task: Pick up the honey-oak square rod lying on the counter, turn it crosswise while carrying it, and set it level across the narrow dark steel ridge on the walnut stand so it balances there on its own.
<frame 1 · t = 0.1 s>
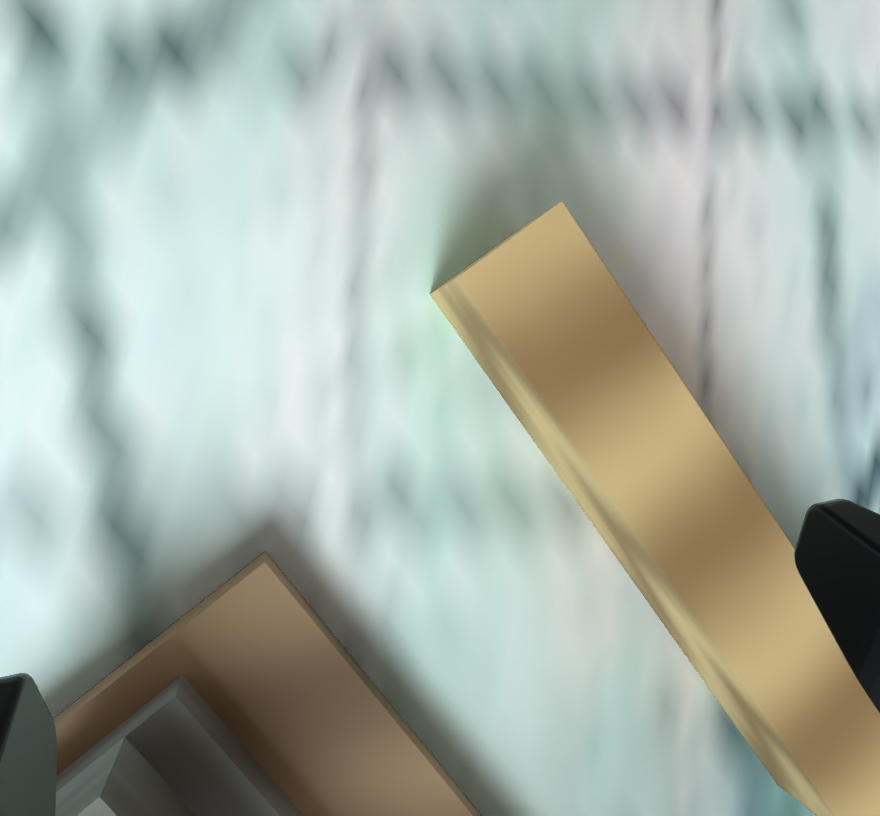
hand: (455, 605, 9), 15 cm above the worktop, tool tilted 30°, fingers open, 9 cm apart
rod: (649, 517, 26), on the worktop
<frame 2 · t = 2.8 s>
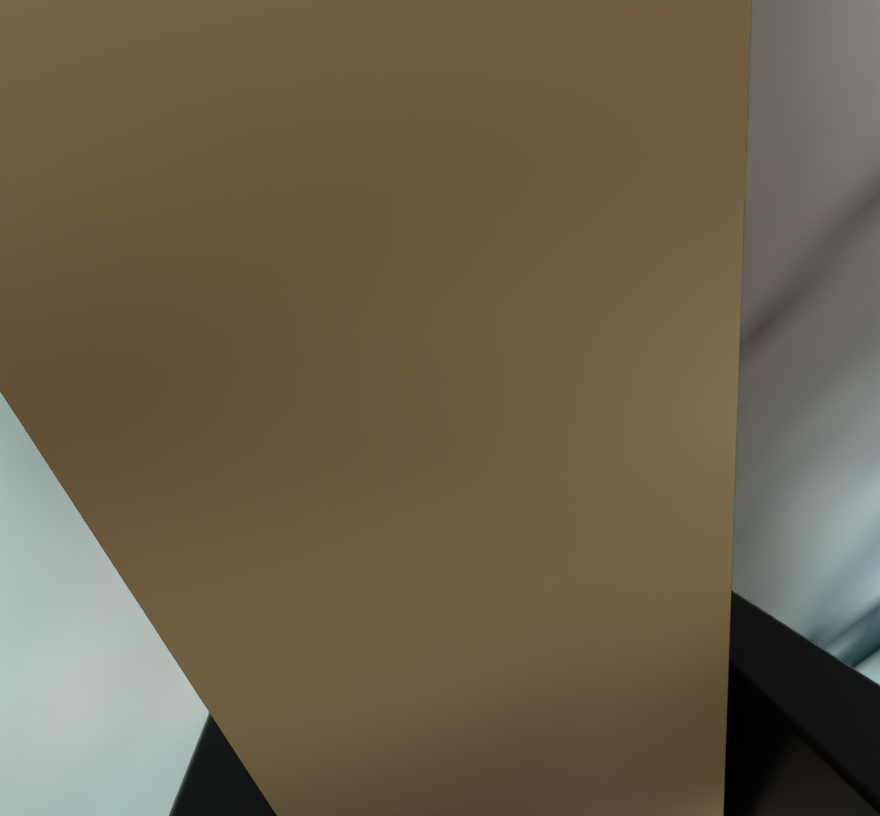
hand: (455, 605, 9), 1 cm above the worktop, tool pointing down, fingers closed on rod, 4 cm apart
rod: (427, 532, 10), on the worktop, touching gripper
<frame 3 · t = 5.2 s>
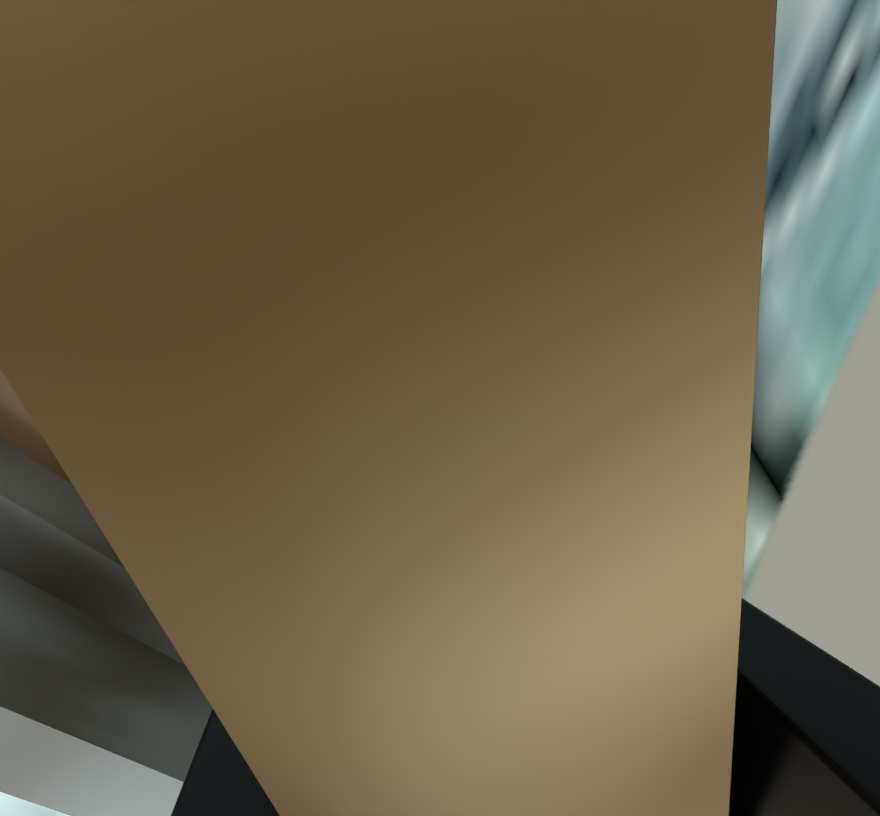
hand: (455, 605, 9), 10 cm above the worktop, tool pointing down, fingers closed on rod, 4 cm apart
ridge stand: (64, 540, 20), on the worktop
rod: (429, 533, 10), point 9 cm above the worktop, touching gripper
when the fingers open (8 cm above the worktop, at t = 7.5 s): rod stays where it is, resting on ridge stand.
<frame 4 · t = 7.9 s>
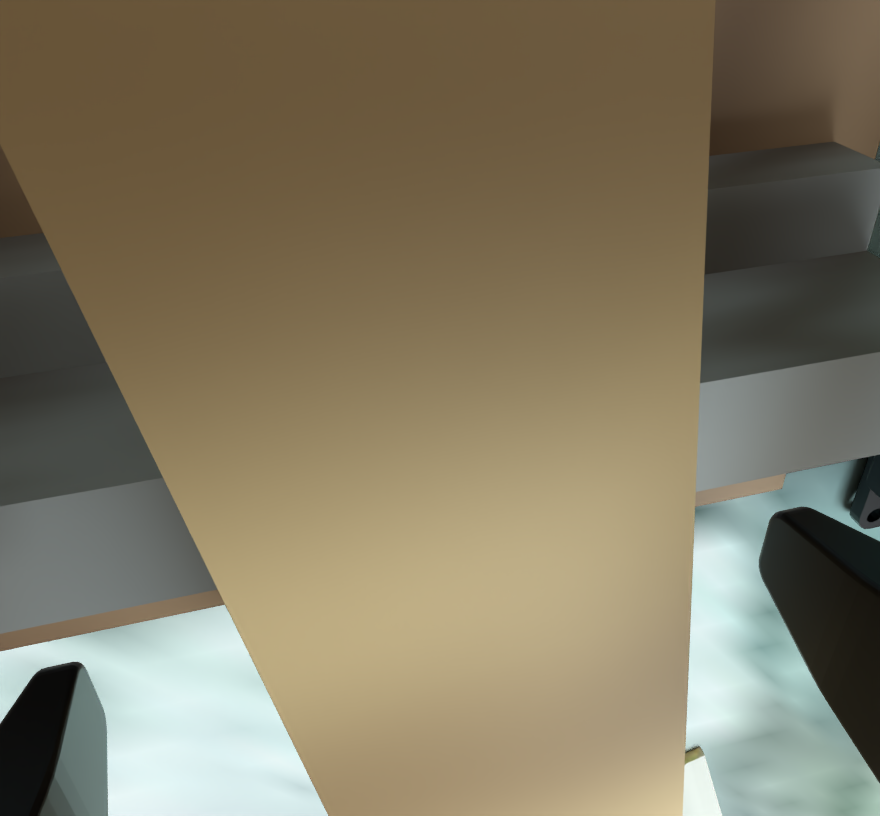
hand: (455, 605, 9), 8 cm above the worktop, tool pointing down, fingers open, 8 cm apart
ridge stand: (343, 297, 16), on the worktop
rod: (417, 494, 11), point 6 cm above the worktop, touching ridge stand
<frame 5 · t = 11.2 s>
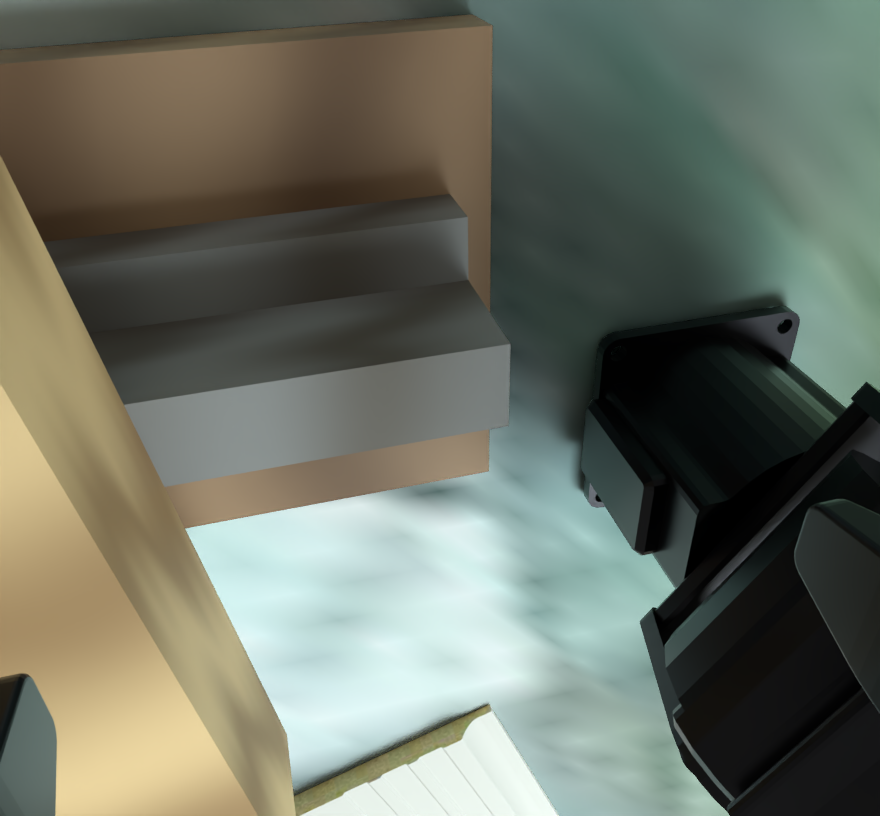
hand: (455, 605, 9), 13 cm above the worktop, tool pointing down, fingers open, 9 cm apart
ridge stand: (78, 315, 20), on the worktop
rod: (44, 464, 15), point 6 cm above the worktop, touching ridge stand
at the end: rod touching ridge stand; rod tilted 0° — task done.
